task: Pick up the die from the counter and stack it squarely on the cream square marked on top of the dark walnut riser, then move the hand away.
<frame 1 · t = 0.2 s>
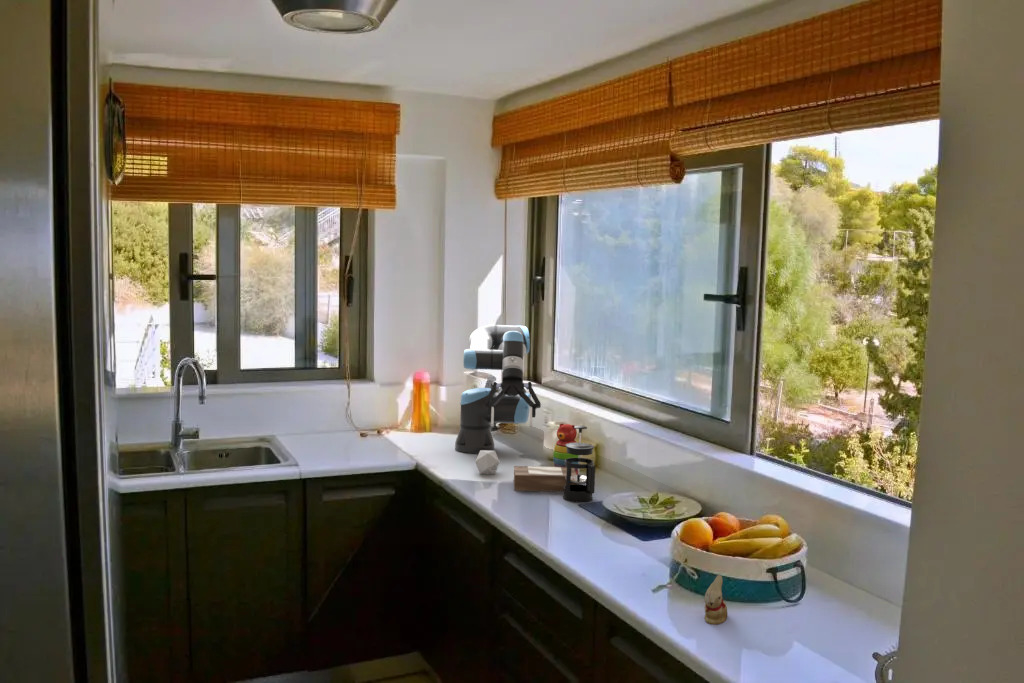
hand: (511, 425, 317), 15 cm above the worktop, tool tilted 35°, fingers open, 13 cm apart
die: (487, 473, 311), on the worktop
walnut riser: (544, 486, 297), on the worktop
stacking bear: (565, 475, 312), on the worktop
chocolate bunny: (715, 619, 194), on the worktop
french press: (578, 499, 283), on the worktop
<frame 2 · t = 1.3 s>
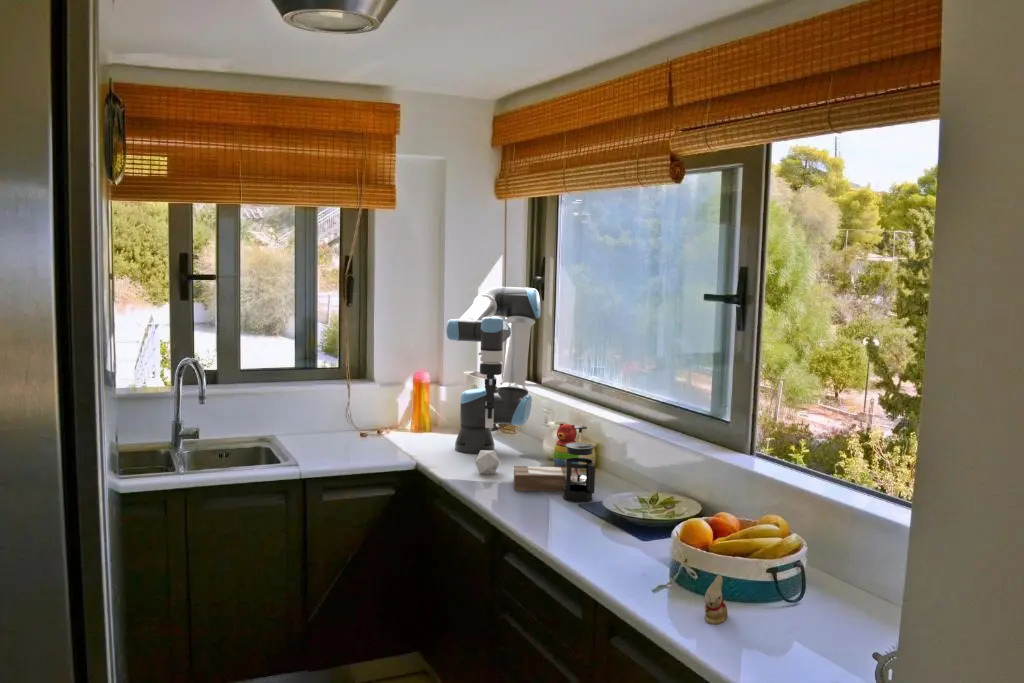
hand: (489, 424, 310), 17 cm above the worktop, tool pointing down, fingers open, 13 cm apart
nothing on the worktop moved.
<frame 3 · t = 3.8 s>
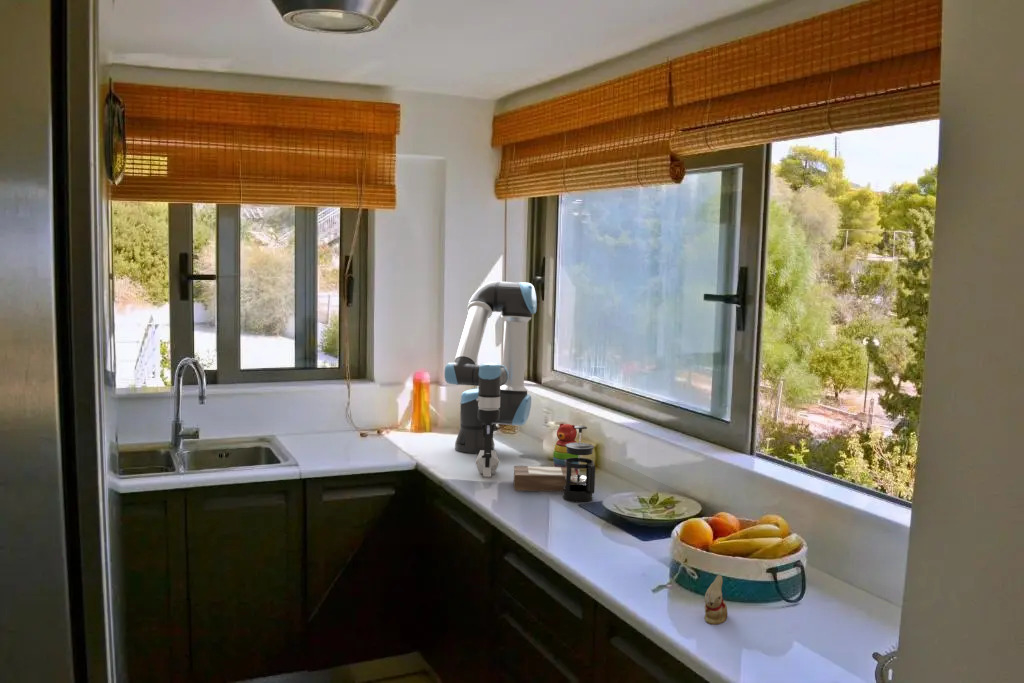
hand: (487, 472, 311), 0 cm above the worktop, tool pointing down, fingers closed on die, 9 cm apart
die: (487, 473, 311), on the worktop, touching gripper
everything else where it was.
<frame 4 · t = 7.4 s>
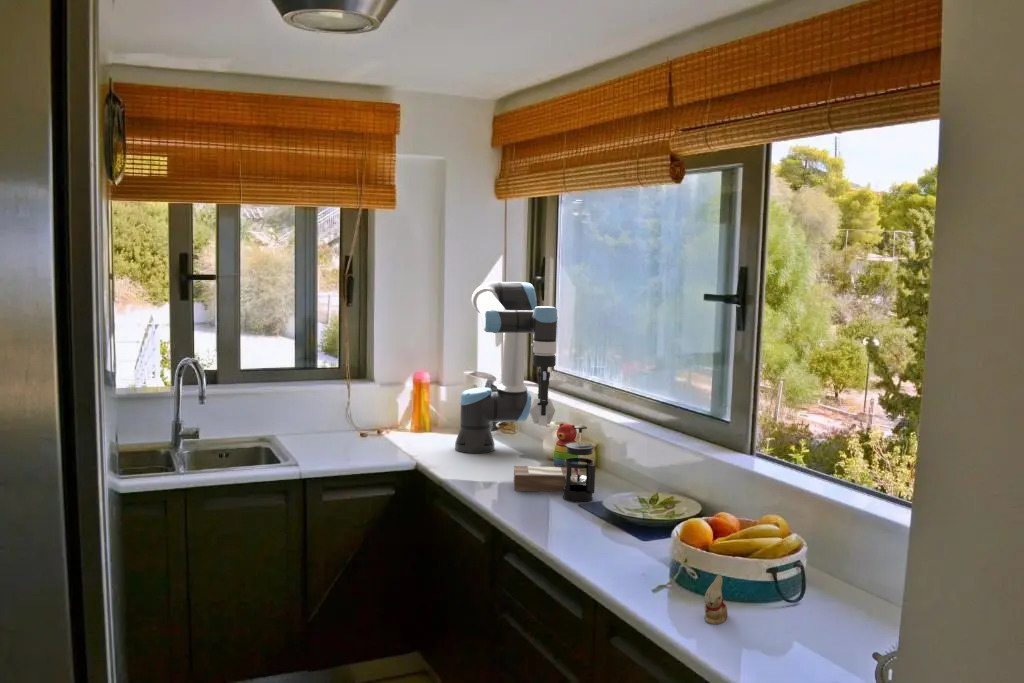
hand: (542, 422, 295), 21 cm above the worktop, tool pointing down, fingers closed on die, 9 cm apart
die: (541, 423, 295), point 21 cm above the worktop, touching gripper
everything else where it was.
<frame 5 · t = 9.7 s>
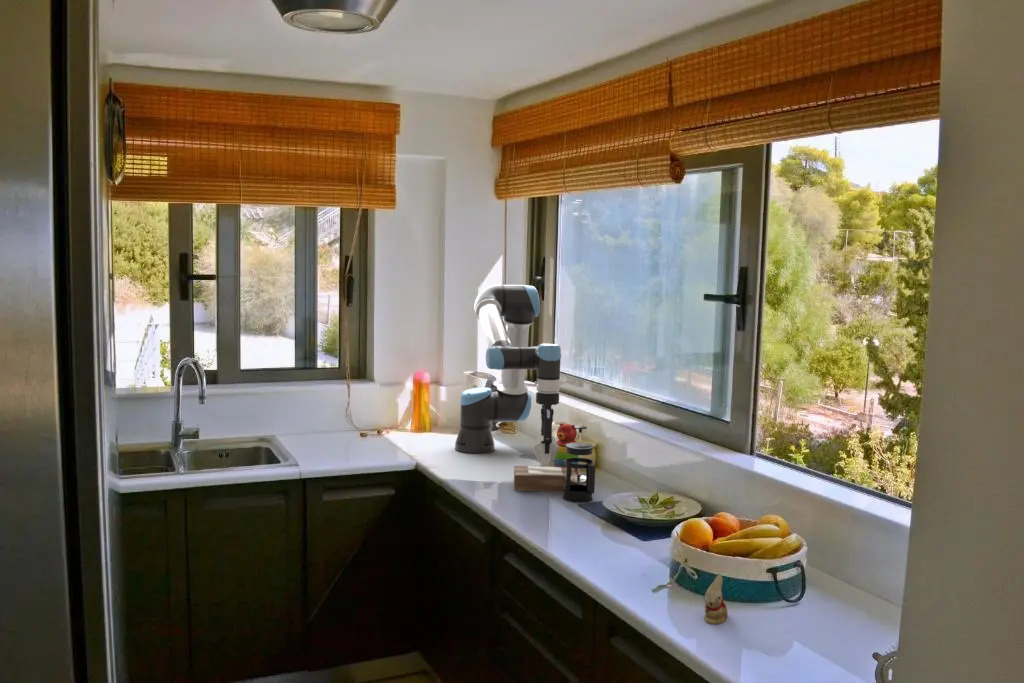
hand: (545, 459, 296), 9 cm above the worktop, tool pointing down, fingers closed on die, 9 cm apart
die: (545, 460, 296), point 9 cm above the worktop, touching gripper
everything else where it was.
when the fingers open (6 cm above the worktop, at t = 11.2 s): die drops 1 cm, resting on walnut riser.
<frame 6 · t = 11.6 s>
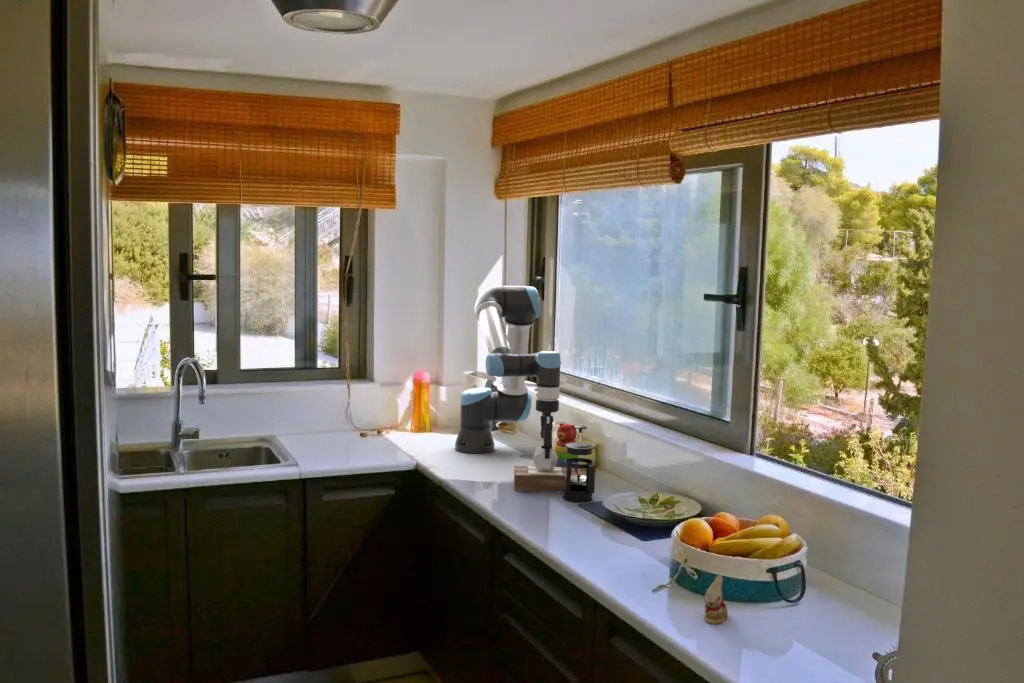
hand: (545, 463, 296), 8 cm above the worktop, tool pointing down, fingers open, 13 cm apart
die: (544, 470, 297), point 5 cm above the worktop, touching walnut riser
everything else where it was.
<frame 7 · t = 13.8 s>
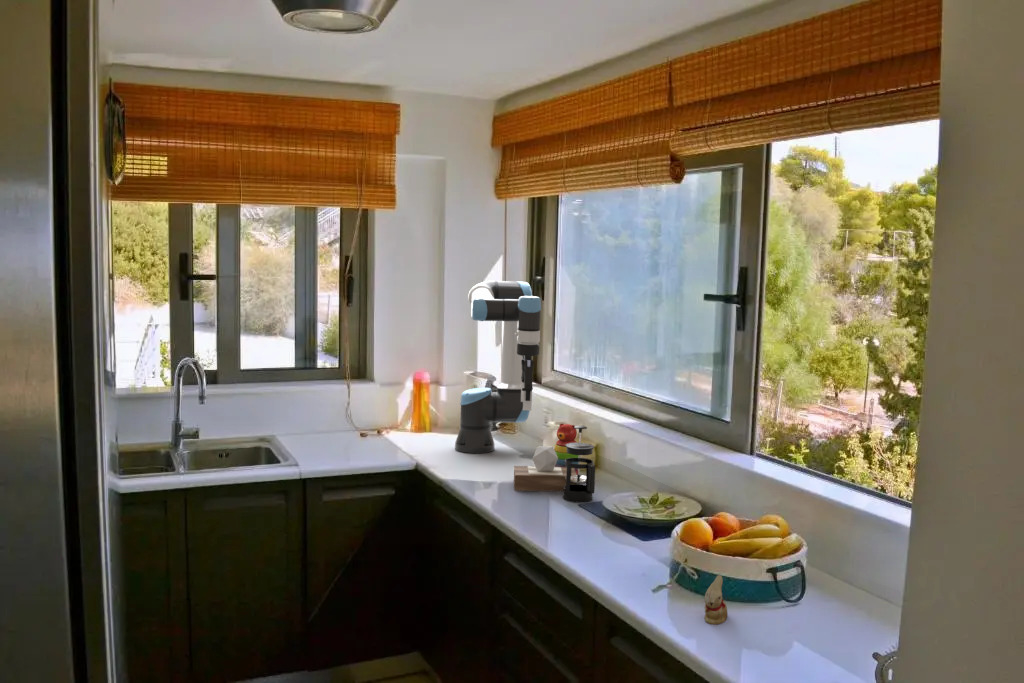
hand: (525, 406, 302), 25 cm above the worktop, tool pointing down, fingers open, 13 cm apart
nothing on the worktop moved.
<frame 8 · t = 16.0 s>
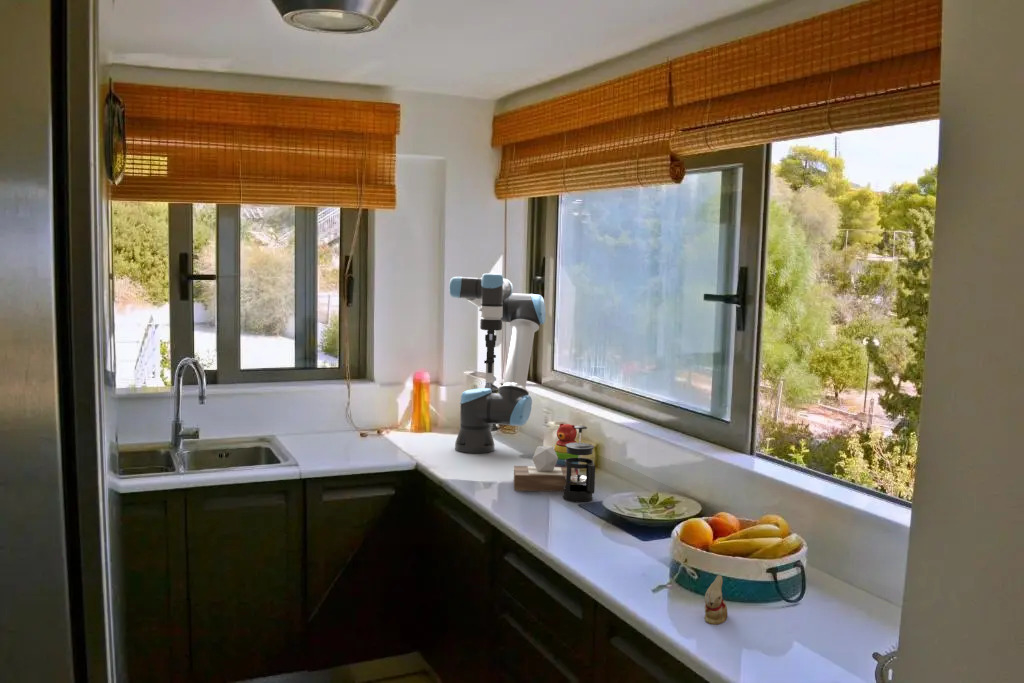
hand: (489, 379, 314), 32 cm above the worktop, tool pointing down, fingers open, 13 cm apart
nothing on the worktop moved.
at the end: die inside the target area on the walnut riser (0.3 cm from its centre), point 5.0 cm above the walnut riser's base; die tilted 0°; the gripper is holding nothing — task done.
